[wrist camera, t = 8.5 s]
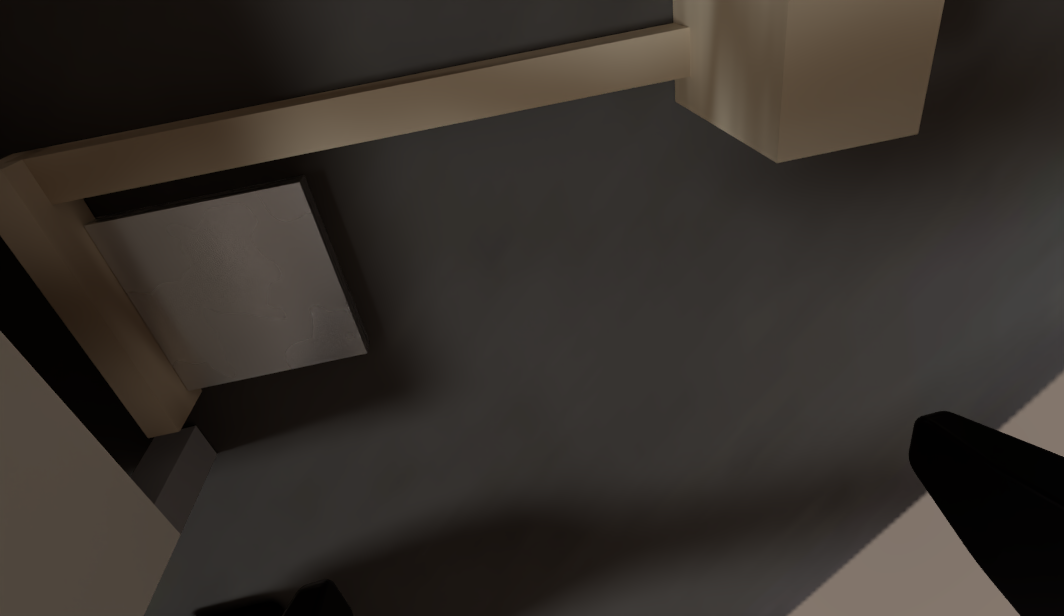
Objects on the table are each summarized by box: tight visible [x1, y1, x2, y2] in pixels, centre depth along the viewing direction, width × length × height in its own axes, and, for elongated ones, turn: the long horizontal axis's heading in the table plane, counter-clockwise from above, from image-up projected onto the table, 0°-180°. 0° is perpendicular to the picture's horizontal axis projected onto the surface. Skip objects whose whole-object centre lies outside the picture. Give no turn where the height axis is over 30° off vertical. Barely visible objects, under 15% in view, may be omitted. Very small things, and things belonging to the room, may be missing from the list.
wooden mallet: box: [0, 0, 945, 438], centre depth 15 cm, size 10×21×6 cm, turn 100°
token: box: [84, 175, 370, 391], centre depth 18 cm, size 6×6×1 cm
